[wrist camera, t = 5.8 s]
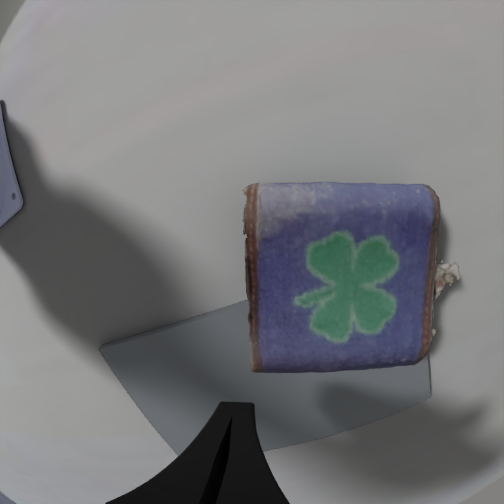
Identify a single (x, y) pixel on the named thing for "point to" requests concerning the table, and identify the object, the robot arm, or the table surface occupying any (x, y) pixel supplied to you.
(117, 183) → the table surface
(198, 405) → the mat
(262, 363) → the clover print pouch
